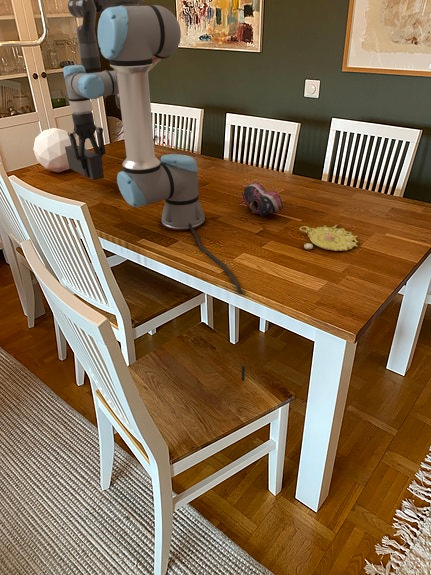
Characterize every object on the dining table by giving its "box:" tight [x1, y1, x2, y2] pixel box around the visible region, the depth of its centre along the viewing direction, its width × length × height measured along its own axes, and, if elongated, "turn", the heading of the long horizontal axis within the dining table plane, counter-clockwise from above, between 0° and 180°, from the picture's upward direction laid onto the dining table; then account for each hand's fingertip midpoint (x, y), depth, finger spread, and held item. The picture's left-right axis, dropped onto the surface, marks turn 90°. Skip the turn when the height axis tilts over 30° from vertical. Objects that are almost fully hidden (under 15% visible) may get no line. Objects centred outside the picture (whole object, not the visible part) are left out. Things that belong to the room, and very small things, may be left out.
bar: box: [65, 145, 105, 181], centre depth 177 cm, size 23×5×9 cm, turn 39°
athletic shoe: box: [238, 182, 284, 217], centre depth 160 cm, size 11×22×12 cm
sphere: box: [32, 127, 71, 173], centre depth 205 cm, size 19×20×20 cm
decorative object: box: [299, 224, 359, 252], centre depth 141 cm, size 21×2×20 cm
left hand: (96, 99), depth 185 cm, fingers open, 8 cm apart
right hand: (93, 174), depth 174 cm, fingers closed on bar, 5 cm apart
